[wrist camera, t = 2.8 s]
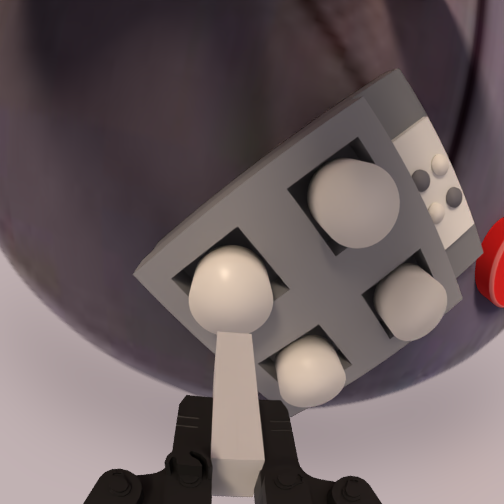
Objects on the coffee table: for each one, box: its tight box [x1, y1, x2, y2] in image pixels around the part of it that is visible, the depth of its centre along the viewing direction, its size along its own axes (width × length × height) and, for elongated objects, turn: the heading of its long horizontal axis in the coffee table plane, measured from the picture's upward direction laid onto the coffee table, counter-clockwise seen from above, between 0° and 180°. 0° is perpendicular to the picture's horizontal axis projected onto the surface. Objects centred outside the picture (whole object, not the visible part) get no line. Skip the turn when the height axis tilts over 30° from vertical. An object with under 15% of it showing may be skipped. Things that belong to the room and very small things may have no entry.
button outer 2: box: [373, 263, 447, 341], centre depth 20 cm, size 5×5×3 cm
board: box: [133, 68, 483, 417], centre depth 22 cm, size 18×23×4 cm
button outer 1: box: [275, 335, 346, 407], centre depth 22 cm, size 5×5×3 cm
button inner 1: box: [189, 245, 273, 335], centre depth 19 cm, size 5×5×3 cm
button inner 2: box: [307, 158, 400, 248], centre depth 18 cm, size 5×5×3 cm
